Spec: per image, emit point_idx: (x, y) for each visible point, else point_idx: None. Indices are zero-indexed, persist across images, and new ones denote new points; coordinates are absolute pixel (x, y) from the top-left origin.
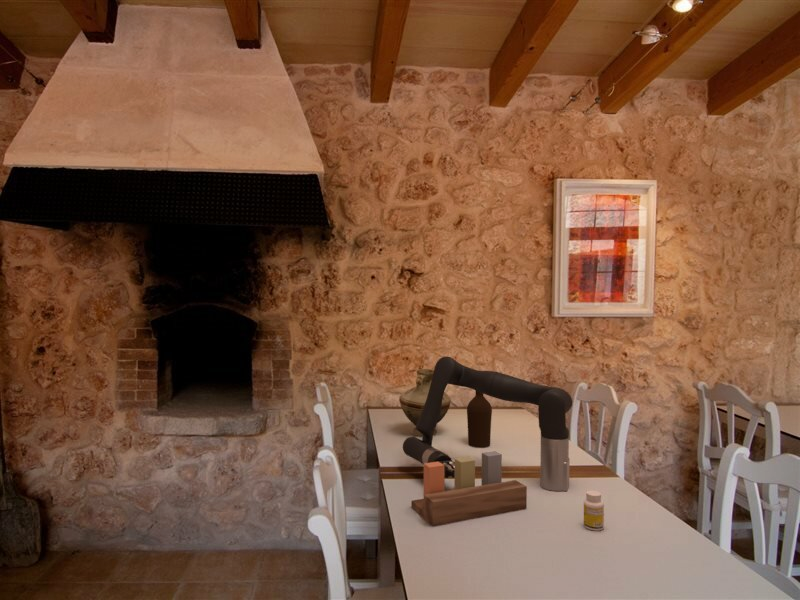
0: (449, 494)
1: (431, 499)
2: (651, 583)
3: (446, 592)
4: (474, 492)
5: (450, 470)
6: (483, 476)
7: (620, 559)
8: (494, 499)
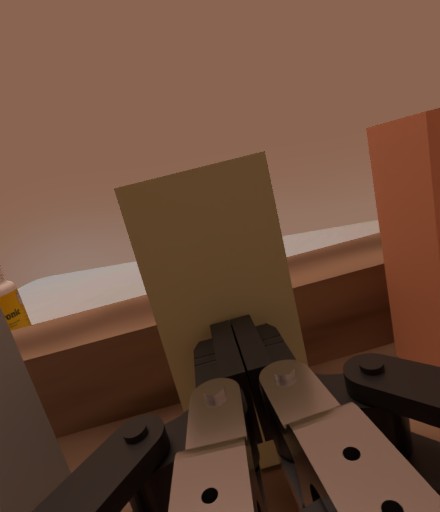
0: (354, 255)
1: None
2: (122, 268)
3: (368, 221)
4: None
5: (315, 382)
6: (4, 445)
7: (100, 287)
8: None
